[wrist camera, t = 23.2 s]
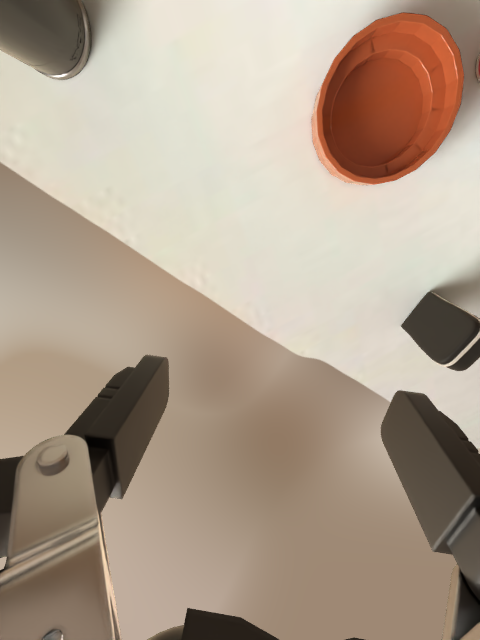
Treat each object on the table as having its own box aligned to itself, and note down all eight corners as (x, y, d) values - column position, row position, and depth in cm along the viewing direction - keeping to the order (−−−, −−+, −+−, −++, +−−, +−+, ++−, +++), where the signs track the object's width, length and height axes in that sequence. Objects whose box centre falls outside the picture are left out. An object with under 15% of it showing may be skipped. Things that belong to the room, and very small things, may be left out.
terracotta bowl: (289, 151, 35) (292, 146, 31) (358, 9, 29) (372, -21, 25) (383, 204, 36) (398, 206, 32) (467, 79, 30) (497, 61, 26)
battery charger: (418, 336, 44) (465, 380, 33) (398, 326, 43) (438, 369, 33) (450, 299, 41) (512, 335, 30) (428, 288, 40) (483, 322, 30)
